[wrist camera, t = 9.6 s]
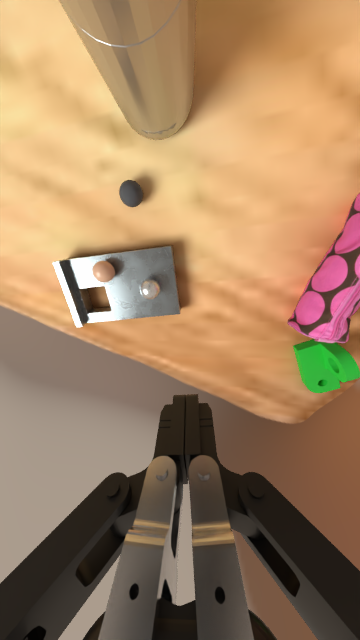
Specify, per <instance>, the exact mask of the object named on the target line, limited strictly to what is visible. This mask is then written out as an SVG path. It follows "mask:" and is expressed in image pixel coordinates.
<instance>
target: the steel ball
mask: <svg viewBox="0 0 360 640" xmlns="http://www.w3.org/2000/svg"><path fill="white" fill-rule="evenodd" d="M140 293H141V295H142V296H143V297H144V298H146V299H154V298H156V297H157V296H158V295H159V294H160V285H159V283H158V282H157V281H156V280H154V279H146V280H144V281H143V282H142V283H141V285H140Z"/></svg>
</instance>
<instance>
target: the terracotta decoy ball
mask: <svg viewBox="0 0 360 640" xmlns="http://www.w3.org/2000/svg"><path fill="white" fill-rule="evenodd" d="M92 272H93V276H94V277H95V278H96V279H97V280H98V281H100V282H104V283H105V282H109V281H111V280H112V279H113V278H114V276H115V269H114V267H113V266H112V264H110V263H109V262H107V261H99V262H97V263H96V264H95V265H94V266H93V269H92Z"/></svg>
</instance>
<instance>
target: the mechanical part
mask: <svg viewBox="0 0 360 640" xmlns="http://www.w3.org/2000/svg"><path fill="white" fill-rule="evenodd" d="M293 347H294V351H295V355H296V359H297V362H298V366H299V370H300V374H301V378H302V381H303V383H304V384H305V385H306V387H307V388H308V389H309V390H310V391H312V392H315V393H323V392H327V391H331V390H335V389H338V388H340V383H339V380H340V381H341V382H347V381H350V380H354V379H358V378H359V377H360V371H359V368H358V366H357V364H356V362H355V360H354V359H353V357H352V356H351V355H350V354H349V353H348V352H347V351H346V350H345V349H344V348H342V347H341V346H340V345H338V344H337V343H336V342H334V343H326V342H318V341H315V339H313V340H310V341H306V342H303V343H300V344H297V345H294V346H293Z"/></svg>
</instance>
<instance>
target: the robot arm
mask: <svg viewBox="0 0 360 640" xmlns="http://www.w3.org/2000/svg"><path fill="white" fill-rule="evenodd" d="M59 1H60V3H61V5H62V7H63V8H64V10H65V12H66V14H67V16H68V17H69V19H70V21H71V23H72V24H73V26H74V28H75V30H76V31H77V33H78V35H79V37H80V39H81V40H82V42H83V44H84V46H85V47H86V49H87V51H88V53H89V54H90V56H91V58H92V60H93V62H94V63H95V65H96V67H97V69H98V70H99V72H100V74H101V76H102V77H103V79H104V81H105V83H106V84H107V86H108V88H109V90H110V92H111V93H112V95H113V97H114V99H115V101H116V102H117V104H118V106H119V108H120V109H121V111H122V113H123V115H124V116H125V118H126V120H127V122H128V123H129V124H130V125H131V127H132V128H133V129H134V130H135V131H136V132H137V133H139V134H140V135H142V136H144V137H146V138H148V139H153V140H161V139H165V138H168V137H170V136H171V135H173V134H174V133H176V132H177V131H178V130H179V129H180V128H181V127H182V125H183V124H184V122H185V121H186V119H187V117H188V114H189V112H190V110H191V105H192V101H193V92H194V67H195V32H196V0H59ZM188 480H189V485H190V501H191V518H192V548H193V565H194V582H195V599H196V600H194V601H192V602H190V603H187V604H185V605H182V606H177V605H176V593H177V558H178V546H179V535H180V524H181V511H182V498H183V497H182V496H183V484H188ZM231 529H234V530H236V531H238V532H240V533H241V535H242V536H243V538H244V539H245V541H246V542H247V543H248V544H249V546H250V547H251V549H252V550H253V551H254V553H255V554H256V556H257V557H258V558H259V560H260V561H261V562H262V564H263V565H264V566H265V568H266V569H267V571H268V572H269V573H270V575H271V576H272V577H273V579H274V580H275V581H276V583H277V584H278V586H279V587H280V588H281V590H282V591H283V592H284V594H285V595H286V597H287V598H288V599H289V601H290V602H291V603H292V605H293V606H294V607H295V609H296V610H297V611H298V613H299V614H300V616H301V617H302V618H303V620H304V621H305V623H306V624H307V625H308V627H309V628H310V629H311V631H312V632H313V633H314V635H315V636H316V638H317V639H318V640H360V571H359V570H358V569H357V568H356V567H355V566H354V565H353V564H352V563H351V562H350V561H349V560H348V559H347V558H346V557H345V556H344V555H343V554H342V553H341V552H340V551H339V550H338V549H337V548H336V547H335V546H334V545H333V544H331V542H330V541H329V540H328V539H327V538H326V537H325V536H324V535H323V534H322V533H320V531H319V530H317V528H315V527H314V526H313V525H312V524H311V523H310V522H309V521H308V520H307V519H306V518H305V517H304V516H303V515H302V514H301V513H300V512H299V511H298V510H297V509H296V508H295V507H294V506H293V505H292V504H291V503H290V502H289V501H288V500H287V499H286V498H285V497H284V496H283V495H282V494H281V493H280V492H279V491H278V490H277V489H276V488H275V487H273V485H272V484H271V483H270V482H269V481H268V480H266V479H265V478H264V477H263V476H262V475H260V474H258V473H255V472H248V473H245V474H244V475H239V474H236V473H234V472H231V471H229V470H227V469H226V468H225V467H223V465H222V464H221V463H220V461H219V460H218V457H217V452H216V444H215V435H214V427H213V419H212V411H211V409H210V407H209V405H208V404H207V403H199V401H198V394H194V395H193V394H191V395H174V397H173V404H172V405H165V406H164V408H163V410H162V411H161V415H160V422H159V429H158V434H157V440H156V446H155V453H154V457H153V460H152V462H151V463H150V465H149V466H148V467H147V468H146V469H145V470H143V471H142V472H140V473H137V474H135V475H132V476H130V477H126V475H125V474H123V473H113V474H111V475H109V476H108V477H107V478H105V479H104V480H103V481H102V482H101V484H99V485H98V486H97V487H96V489H94V490H93V491H92V492H91V493H90V494H89V495H88V497H86V498H85V499H84V500H83V501H82V502H81V503H80V505H78V506H77V508H75V509H74V510H73V511H72V512H71V514H69V516H67V517H66V518H65V519H64V520H63V521H62V522H61V523H60V524H59V526H58V527H56V528H55V530H53V531H52V532H51V534H49V535H48V537H46V538H45V540H43V541H42V542H41V543H40V544H39V546H37V548H35V549H34V550H33V551H32V552H31V553H30V554H29V555H28V556H27V558H25V559H24V560H23V561H22V563H20V565H18V567H16V568H15V570H13V571H12V572H11V573H10V574H9V575H8V576H7V578H5V579H4V581H2V582H1V584H0V640H58V638H59V637H60V636H61V634H62V633H63V631H64V630H65V629H66V627H67V626H68V625H69V623H70V622H71V621H72V619H73V618H74V617H75V615H76V613H77V612H78V611H79V610H80V608H81V607H82V606H83V604H84V603H85V602H86V600H87V599H88V597H89V596H90V595H91V593H92V592H93V591H94V589H95V588H96V586H97V585H98V584H99V582H100V581H101V580H102V578H103V577H104V576H105V574H106V573H107V572H108V570H109V569H110V567H111V566H112V565H113V563H114V562H115V561H116V559H117V558H118V557H119V555H120V554H121V555H120V559H119V562H118V566H117V570H116V574H115V577H114V582H113V585H112V589H111V593H110V596H109V600H108V604H107V608H106V611H105V612H104V613H103V614H102V615H101V616H100V617H99V618H98V619H97V621H96V622H95V623H94V624H93V626H92V627H91V628H90V629H89V631H88V632H87V634H86V635H85V637H84V639H83V640H277V639H276V637H275V636H274V635H273V633H272V632H271V631H270V629H269V628H268V627H267V626H266V625H265V623H264V622H263V621H262V620H261V619H260V618H258V616H256V615H255V614H254V613H253V612H252V611H250V610H249V609H248V607H247V602H246V597H245V591H244V586H243V581H242V576H241V572H240V566H239V561H238V556H237V551H236V546H235V541H234V537H233V533H232V530H231Z"/></svg>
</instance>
